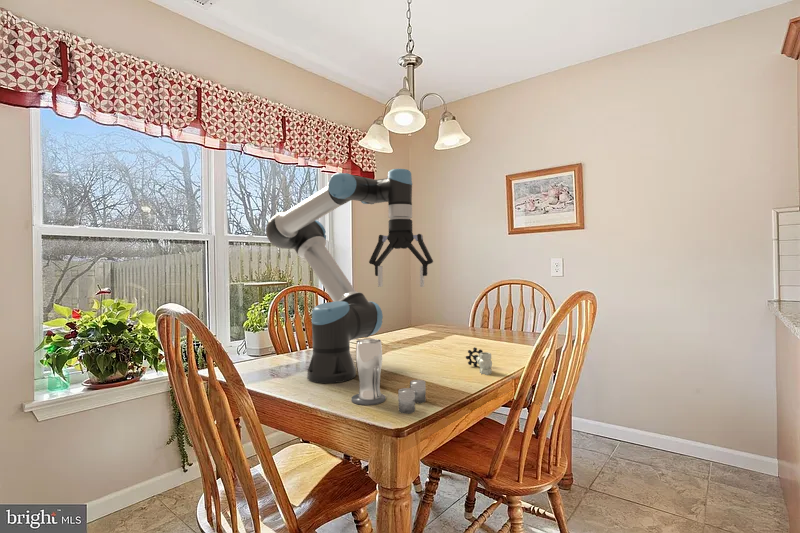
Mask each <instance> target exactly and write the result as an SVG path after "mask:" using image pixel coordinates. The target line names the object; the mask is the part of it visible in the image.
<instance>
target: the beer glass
mask: <svg viewBox="0 0 800 533" xmlns="http://www.w3.org/2000/svg"><path fill="white" fill-rule="evenodd" d="M355 345H356V346H355V348H356V349H355V362H356V364H355V365H356V370H357V374H358V382H359V386H358V388H359V390H358V393H357V394H358V398H359V399H360V400H364V401H373V400H378V399H380V398H381V394H382V392H381V387H380V386H381V373H382V372H381V371H382V367H383V366H382V365H383V349H382V348H383V346H382V340H381V339H379V338H362V339H361V338H360V339H356V344H355ZM379 383H380V384H379Z"/></svg>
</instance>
